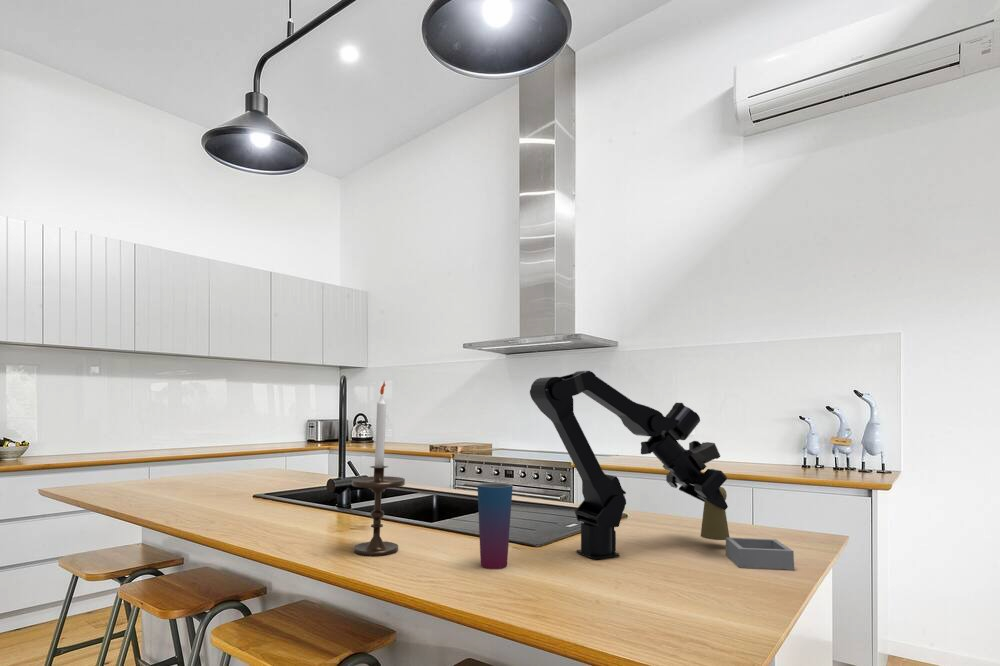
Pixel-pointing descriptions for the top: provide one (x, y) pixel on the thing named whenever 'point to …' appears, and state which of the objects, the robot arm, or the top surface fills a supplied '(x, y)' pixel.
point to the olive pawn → (714, 521)
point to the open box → (759, 553)
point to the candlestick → (378, 490)
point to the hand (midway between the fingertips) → (720, 506)
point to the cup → (494, 523)
